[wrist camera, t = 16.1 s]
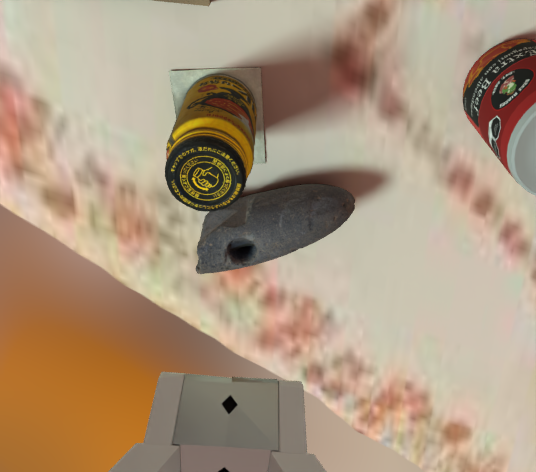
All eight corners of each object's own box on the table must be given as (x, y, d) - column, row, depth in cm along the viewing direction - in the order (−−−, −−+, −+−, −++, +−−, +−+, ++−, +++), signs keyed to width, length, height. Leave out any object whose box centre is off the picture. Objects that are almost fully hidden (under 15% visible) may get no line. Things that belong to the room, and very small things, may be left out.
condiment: (260, 66, 40) (255, 129, 30) (265, 162, 45) (262, 243, 35) (169, 69, 40) (134, 133, 30) (183, 164, 45) (158, 245, 35)
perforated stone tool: (345, 160, 44) (355, 201, 39) (356, 208, 47) (367, 253, 42) (187, 199, 47) (175, 243, 41) (207, 242, 50) (198, 289, 44)
